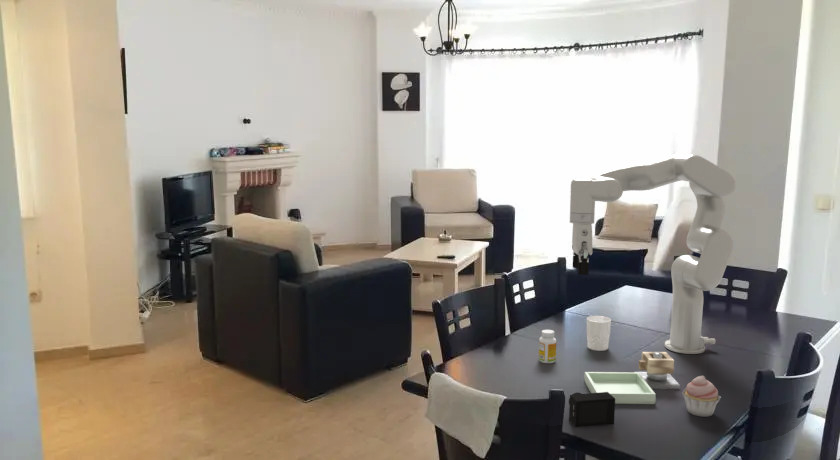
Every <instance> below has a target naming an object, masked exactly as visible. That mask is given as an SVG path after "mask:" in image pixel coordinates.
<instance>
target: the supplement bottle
mask: <svg viewBox="0 0 840 460" xmlns="http://www.w3.org/2000/svg"><path fill="white" fill-rule="evenodd" d="M556 360H557V339H556V338H555V331H554V330H552V329H543V330H541V336H540V337H539V339H538V361H539V362H540V363H543V364H554V363H555V362H556Z"/></svg>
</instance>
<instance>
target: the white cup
mask: <svg viewBox="0 0 840 460" xmlns="http://www.w3.org/2000/svg"><path fill="white" fill-rule="evenodd" d="M611 324H612V319H611V318H610V317H607V316H603V315H590V316H587V317H586V340H587V341H586V342H587V345H586V346H587V348H588V349H589V350H592V351H597V352H598V351H599V352H600V351H601V352H602V351H607V350H608V348H609V341H610V336H611V326H612V325H611Z"/></svg>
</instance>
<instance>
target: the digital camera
mask: <svg viewBox="0 0 840 460" xmlns="http://www.w3.org/2000/svg"><path fill="white" fill-rule="evenodd" d="M568 406H569V409H568V410H569V412H568V420H569V422H570V423H571V425H573V426H574V428H583V427H586V428H587V427H595V426H596V427H597V426H598V427H599V426H606V425H607V426H609V425H614V424H615V411H616V409H615V408H616V403H615V398H614V397H613V396H612V395H611V394H609V393H608V392H600V393H591V392H589V393H581V392H574V393H572V394H569V399H568Z"/></svg>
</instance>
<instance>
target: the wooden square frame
mask: <svg viewBox="0 0 840 460" xmlns="http://www.w3.org/2000/svg"><path fill="white" fill-rule="evenodd" d="M654 352H655V351H641V359H639V360H638V369H639V370H640V371H645V372H648V373H649V374H670V375H671V374H672V375H673V374H674V371H675V359H673V357H671V356H670V354H669V353H668V352H667V351H659V352H660V353H662V359H655V358H653V354H654Z"/></svg>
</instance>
